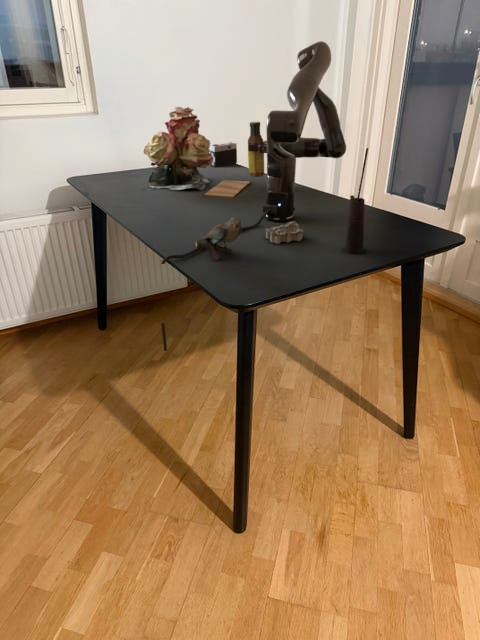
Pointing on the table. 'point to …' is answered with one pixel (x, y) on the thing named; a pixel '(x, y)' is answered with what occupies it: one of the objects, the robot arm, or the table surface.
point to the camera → (223, 154)
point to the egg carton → (284, 233)
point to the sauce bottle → (254, 156)
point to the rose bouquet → (179, 153)
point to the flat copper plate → (227, 188)
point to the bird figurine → (221, 237)
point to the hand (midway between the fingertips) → (250, 146)
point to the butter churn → (356, 221)
